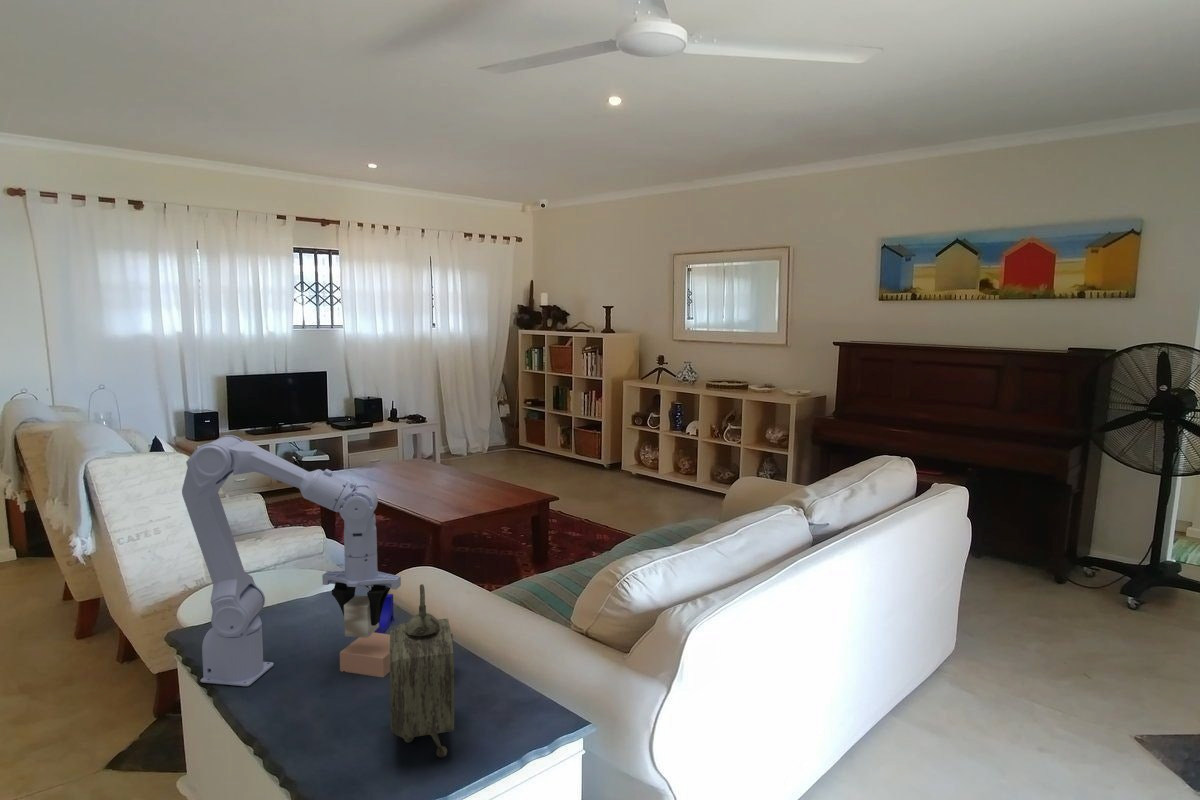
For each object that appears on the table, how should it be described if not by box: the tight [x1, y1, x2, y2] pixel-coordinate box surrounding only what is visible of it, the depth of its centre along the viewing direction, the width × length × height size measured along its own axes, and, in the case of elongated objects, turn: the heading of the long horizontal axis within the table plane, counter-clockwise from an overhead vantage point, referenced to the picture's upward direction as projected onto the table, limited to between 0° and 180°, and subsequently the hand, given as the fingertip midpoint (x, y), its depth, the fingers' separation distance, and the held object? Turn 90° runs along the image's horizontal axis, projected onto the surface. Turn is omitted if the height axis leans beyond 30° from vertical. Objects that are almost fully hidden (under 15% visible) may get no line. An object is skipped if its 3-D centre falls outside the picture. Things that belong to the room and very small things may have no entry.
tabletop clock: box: [389, 584, 455, 759], centre depth 107 cm, size 14×9×25 cm, turn 17°
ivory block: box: [343, 594, 379, 638], centre depth 129 cm, size 4×4×6 cm
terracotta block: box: [339, 632, 390, 678], centre depth 132 cm, size 9×9×4 cm
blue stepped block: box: [374, 593, 394, 634], centre depth 145 cm, size 12×4×6 cm, turn 0°
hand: (362, 622), depth 129 cm, fingers closed on ivory block, 4 cm apart
